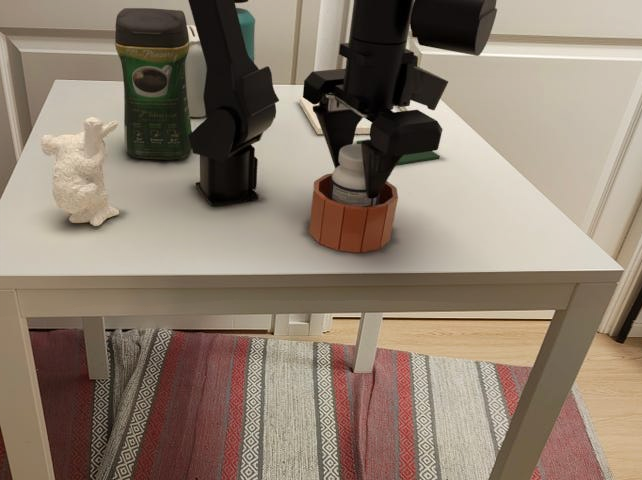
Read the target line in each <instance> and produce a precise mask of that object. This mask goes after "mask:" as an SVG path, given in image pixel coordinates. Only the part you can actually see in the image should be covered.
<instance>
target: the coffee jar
mask: <svg viewBox="0 0 642 480" xmlns="http://www.w3.org/2000/svg"><path fill="white" fill-rule="evenodd" d="M187 26H188V22H187V18H186V14H185V12H184V11H183V10H180V9H164V8H154V7H153V8H152V7H150V8H149V7H138V8H137V7H124V8H122V10H120V11H119V12H118V14H117V15H116V19H115V34H114V36H115V38H114V46H115V50H116V53H117V55H118V58H119V60H120V64H121V69H122V70H121V71H122V77H123V78H122V79H123V103H124V104H123V105H124V106H123V107H124V108H123V109H124V110H123V111H124V112H123V113H124V115H123V116H124V117H123V118H124V119H123V122H124V123H123V125H124V126H123V133H124V137H123V138H124V148H125V152H126V153H127V154H128V155H130V156H131V157H133V158H136V159H147V160H148V159H149V160H179V159H182V158H184V157H186V156H188V155H189V154H190V153H191V152H192V148H191V145H190V141H189V138H188V136H189V135H190V134H191V133H192V132H193V130H192V123H191V121H192V120H191V117H190V114H189V107H188V99H187V91H186V77H185V61H186V57H187V54H188V51H189V35H188V29H187Z"/></svg>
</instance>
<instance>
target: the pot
mask: <svg viewBox="0 0 642 480" xmlns="http://www.w3.org/2000/svg"><path fill="white" fill-rule="evenodd" d="M332 174H333V172H331V173H326V174H324V175H322V176H321V177H319V178H317V179H316V180H314V182H313V189H312V199H311V208H310V216H309V217H310V218H309V228H308V233H309V235H310V236H311V237H312V238H313V239H314V240H315V241H316V242H317V243H318V244H320V245H322V246H325V247H327V248H330V249H333V250H335V251H339V252H346V253H347V252H348V253H356V254H357V253H358V254H359V253H367V252H372V251H377V250H379V249H382V248H383V247H384V246H385V245H386V244H388V242H390V240H391V235H392V231H393V225H394V220H395V216H396V211H397V205H398V200H399V194H398V189H397V187H396V186H395V185H393V184H392V183H391V182H389V181H388V180H387V181H386V183H385V185H384V186H383V188H382V190H381V191H380V196H379V202H378V205H374V206H368V207H363V206H352V205H344V204H341V203H339V202H336V201H333V200H330V199H329V198H330V189H331V180H332Z"/></svg>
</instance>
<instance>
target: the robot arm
mask: <svg viewBox="0 0 642 480" xmlns="http://www.w3.org/2000/svg"><path fill="white" fill-rule="evenodd" d="M187 1H188V4H189V9H190V11H191V16H192V19H193V22H194V26H196V30H197V33H198V37H199V40H200V44H201V47H202V51H203V55H204V58H205V62H206V67H207V73H206V80H205V87H204V95H203V99H204V106H205V112H206V114H205V120H204V121H202V122H201V123H200V124H199V125H198V126H197V127H195V129H193V130H192V133H191V134H190V135H189V136H188V138H189V141H190V145H191V148H192V149H191V152H192V153H193V154H195V155H197V156H199V181H197V182H195V184H194V185H195V188H196V189H197V190H198V192H199V193H200V194H201V195H202V196H203V198H204V199H205V200H206V201H207V203H209V205H210V206H212V207H219V206H225V205H233V204H238V203H243V202H249V201H257V200H258V199H259V194H258V192H256V189H257V185H258V165H259V159H258V158H257V157H256V155H255V153H256V148H255V147H254V146H253V145H254V144H255V143H258V142H260V141H261V139H262V137H263V135H264V132H266V131H267V130H268V129H269V128H270V127H272V124H273V122H274V120H275V119H276V116H277V106H276V103H279V102H280V99H279V97H278V95H277V94H276V92H275V88H274V84H273V74H272V73H273V72H272V71H271V68H270V66H264V67H262V68H258V66H257V64H256V63H255V61H254V62H253V61H252V60H251V58H250V57H249V55H248V53H247V50H246V46H245V42H244V38H243V34H242V30H241V26H240V22H239V18H238V14H237V10H236V8H237V6H236V3H235V2H234V0H187ZM497 2H498V1H497V0H353V3H352V4H353V7H352V11H351V12H352V13H351V21H350V28H349V37H348V42H343V43H339V50H338V55H340V56H342V57H343V58H345V59H346V60H345V67H344V68H337V69H325V70H315V71H314V70H313V71H311V72H310V73H309V74H308V75H307V77H306V78H305V79H304V80H303V88H302V89H303V91H302V97H303V98H305V99H306V100H308V101H309V102H310V103H312V104H318V103H319V105H316V106H313V112H315V114H316V116H317V119H318V121H319V124H320V127H321V129H322V132H323V134H322V135H323V138H324V139H325V143H326V146H327V148H328V152H329V154H330V158H331V160H332V163H333V166H334V170H335V169H336V168H337V167H338V166H339V165H340V163H339V161H338V159H339V151H340V149H341V148H342V147H344V146H346V145H351V144H354V140H355V137H356V134H355V131H356V127H357V126H359V124H360V122H361V121H362V120H363V119H366V120H367V121H369V122H371V123H370V126H371V128H370V134H369V139H371V140H369V139H365V140H366V141H362V140H360V141H361V149H362V158H363V167H364V177H365V186H366V192H367V197H368V198H369V199H372V198H376V197H378V195H379V193H380V191H381V190H382V188H383V186H384V185H385V183H386V181H388V180H389V178H390V176H391V174H392V173H393V171H394V169H395V167H396V166H397V165H396V164H397V163H398V162H399V160H400V159H401V158H402V157H403V156H404V155H408V154H415V153H422V152H428V151H433V152H435V151H438V149H439V147H440V143H441V138H442V134H443V130H444V129H443V127H442V126H441V124H440V122H439V121H438V120H436V119H434V118H433V117H431V116H429V115H427V114H426V113H424V112H422V111H420V110H419V109H411V110H409V111H402V110H400V111H393V110H394V107H398V108H400V107H405V106H408V107H410V105H411V101H412V102H415V103H417V104H420V105H423V106H426V107H427V109H428V110H431V111H436V108H437V107H438V105H439V102H440V100H441V98H442V96H443V94H444V93H445V90H446V88H447V86H448V84H449V81H448V80H446V79H445V78H443V77H440V76H439V75H436V74H434V73H432V72H430V71H428V70H425V69H423V68H422V67H419V66H418V65H419V64H418V63H419V57H418V55H415V52H414V51H412V50H410V49H408V48H407V44H408V37H409V32H410V31H411V38H416V39H417V43H418V45H419V46H421V47H427V48H433V49H438V50H444V51H450V52H454V53H458V54H459V53H460V54H465V55H468V56H469V55H471V56H475V57H479V56H480V55H481V54H482V53H483V51H484V50H485V48H486V45H487V44H488V41H489V39H490V36H491V33H492V30H493V27H494V24H495V20H496V16H497V13H498V8H496V6H497Z"/></svg>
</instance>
